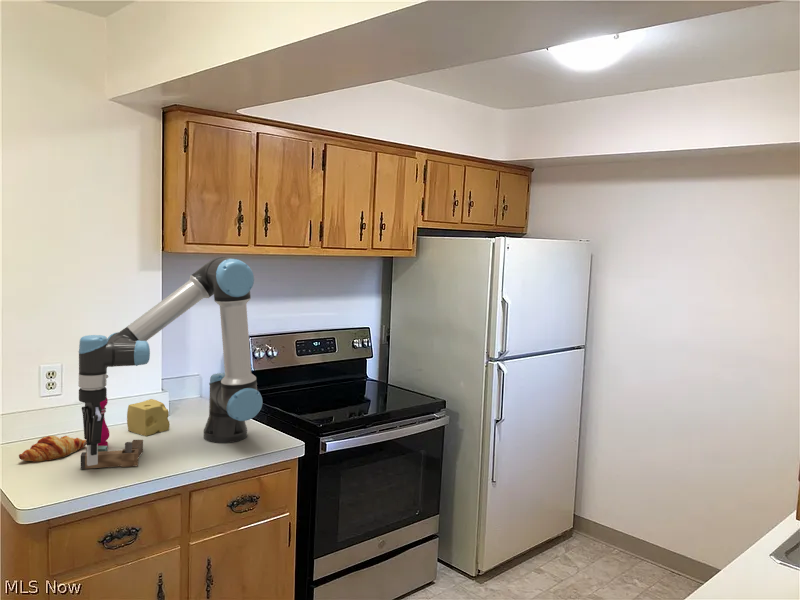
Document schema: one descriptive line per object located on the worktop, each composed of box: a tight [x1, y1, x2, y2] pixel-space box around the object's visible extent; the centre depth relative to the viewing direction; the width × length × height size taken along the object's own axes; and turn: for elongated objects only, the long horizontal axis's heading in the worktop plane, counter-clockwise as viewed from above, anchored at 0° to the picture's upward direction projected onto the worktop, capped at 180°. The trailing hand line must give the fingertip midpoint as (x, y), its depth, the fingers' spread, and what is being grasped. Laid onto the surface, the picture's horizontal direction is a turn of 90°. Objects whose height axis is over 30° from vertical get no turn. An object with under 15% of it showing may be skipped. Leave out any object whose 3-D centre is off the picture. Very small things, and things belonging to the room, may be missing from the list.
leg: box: [80, 448, 139, 470], centre depth 198 cm, size 16×5×4 cm, turn 110°
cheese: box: [126, 398, 171, 437], centre depth 233 cm, size 10×11×10 cm
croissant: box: [18, 435, 87, 463], centre depth 205 cm, size 21×10×8 cm, turn 147°
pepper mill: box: [98, 397, 110, 447], centre depth 212 cm, size 7×7×20 cm
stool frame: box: [98, 439, 144, 458], centre depth 204 cm, size 14×13×7 cm
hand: (92, 464), depth 194 cm, fingers closed
